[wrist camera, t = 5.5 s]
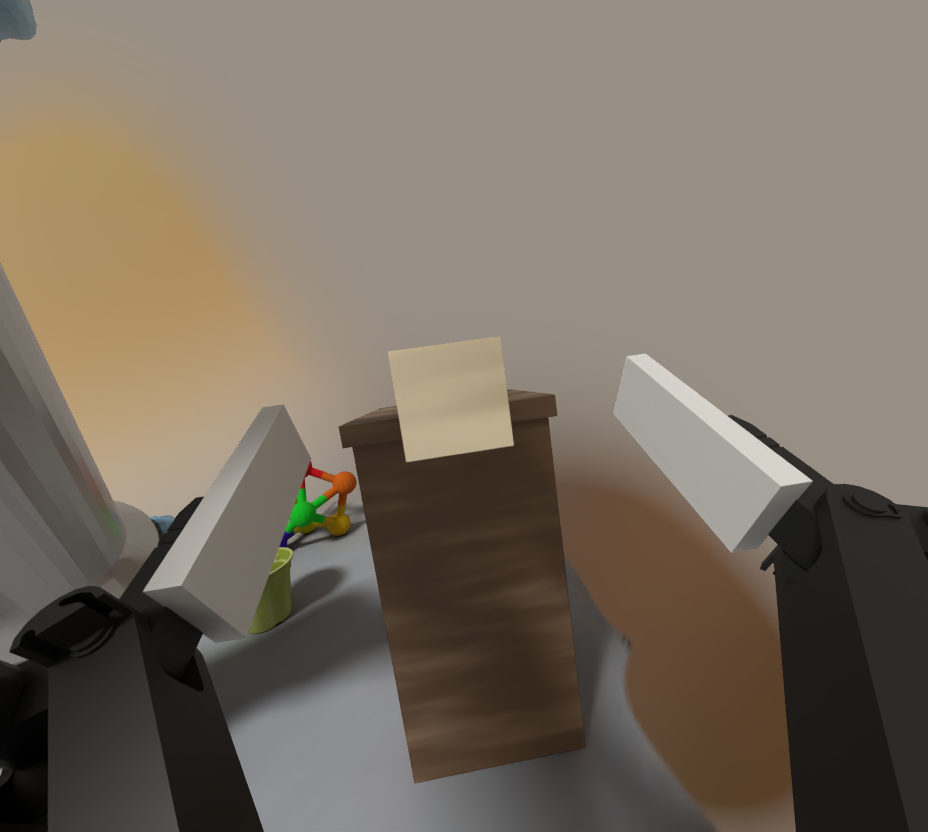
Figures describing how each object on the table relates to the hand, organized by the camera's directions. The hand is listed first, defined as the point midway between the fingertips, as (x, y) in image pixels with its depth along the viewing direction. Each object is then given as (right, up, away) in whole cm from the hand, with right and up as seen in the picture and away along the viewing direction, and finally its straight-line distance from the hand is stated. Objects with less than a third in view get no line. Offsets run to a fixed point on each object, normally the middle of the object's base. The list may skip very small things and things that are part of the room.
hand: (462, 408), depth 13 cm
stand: (+3, -28, +20) cm, 34 cm away
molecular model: (-34, -29, +59) cm, 73 cm away
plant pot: (-29, -31, +35) cm, 55 cm away
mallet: (-1, 0, +10) cm, 10 cm away
